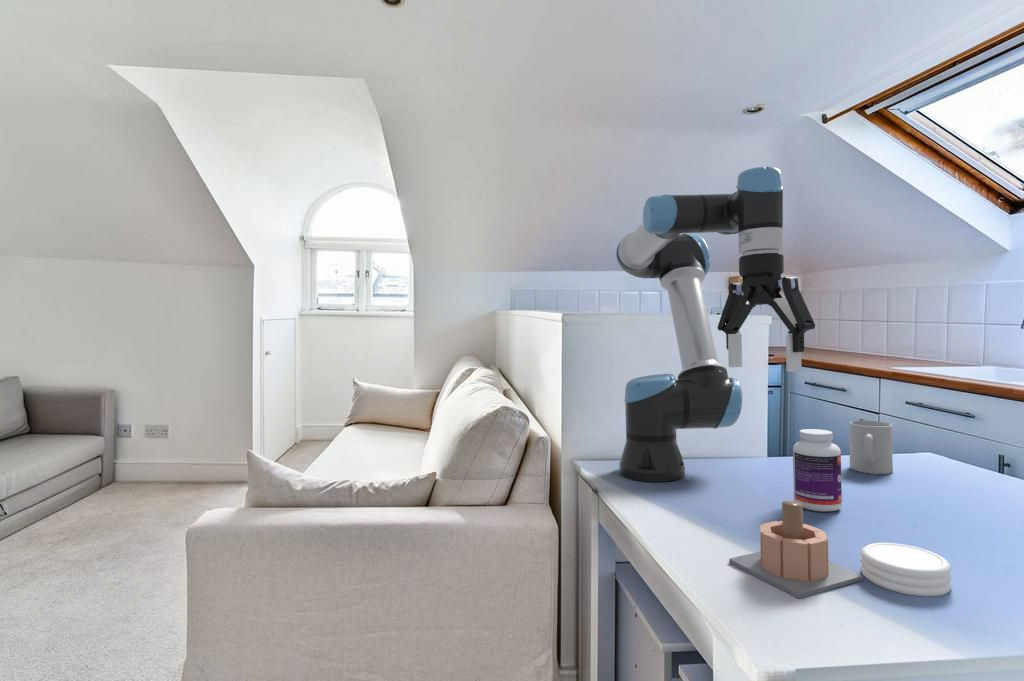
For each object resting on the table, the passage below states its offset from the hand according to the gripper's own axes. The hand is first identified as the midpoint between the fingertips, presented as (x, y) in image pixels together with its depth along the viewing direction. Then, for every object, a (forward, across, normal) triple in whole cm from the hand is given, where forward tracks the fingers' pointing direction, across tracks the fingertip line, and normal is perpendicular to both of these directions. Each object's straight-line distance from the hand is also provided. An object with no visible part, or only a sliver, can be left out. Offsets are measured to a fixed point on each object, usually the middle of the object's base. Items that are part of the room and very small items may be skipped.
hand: (762, 369), depth 103 cm
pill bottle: (+27, +2, +11) cm, 29 cm away
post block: (+27, +20, -16) cm, 37 cm away
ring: (+26, +20, -16) cm, 37 cm away
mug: (+27, -10, +43) cm, 52 cm away
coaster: (+27, +28, -5) cm, 39 cm away
